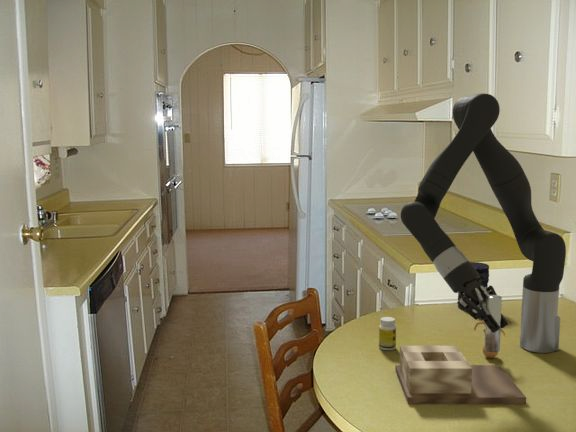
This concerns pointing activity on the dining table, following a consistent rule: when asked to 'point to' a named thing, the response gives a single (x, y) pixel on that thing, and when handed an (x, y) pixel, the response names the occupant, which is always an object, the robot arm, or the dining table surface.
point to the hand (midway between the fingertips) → (501, 328)
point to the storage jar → (484, 275)
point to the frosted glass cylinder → (495, 310)
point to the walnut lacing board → (473, 389)
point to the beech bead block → (435, 369)
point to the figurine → (486, 353)
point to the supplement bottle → (387, 333)
